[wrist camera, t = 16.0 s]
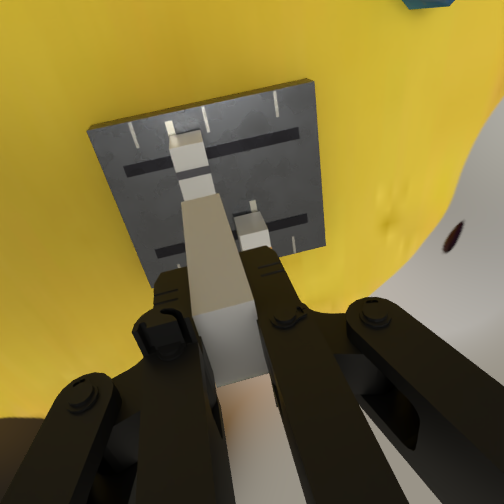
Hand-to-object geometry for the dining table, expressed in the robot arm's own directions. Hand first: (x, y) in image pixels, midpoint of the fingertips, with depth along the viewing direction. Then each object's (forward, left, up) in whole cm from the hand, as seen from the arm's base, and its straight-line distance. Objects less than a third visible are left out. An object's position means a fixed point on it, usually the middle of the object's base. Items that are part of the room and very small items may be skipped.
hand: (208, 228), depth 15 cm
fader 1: (-1, -4, -24) cm, 24 cm away
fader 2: (+3, -14, -24) cm, 28 cm away
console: (+1, -9, -26) cm, 28 cm away
